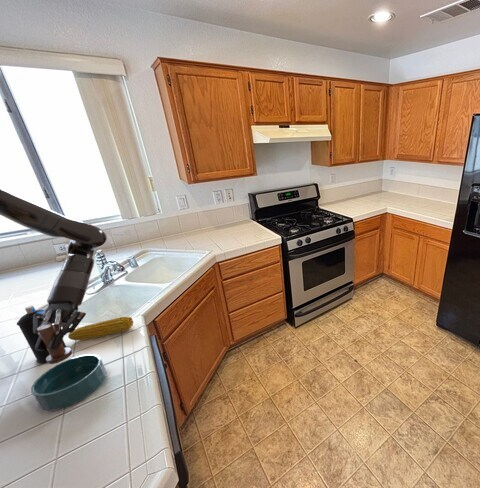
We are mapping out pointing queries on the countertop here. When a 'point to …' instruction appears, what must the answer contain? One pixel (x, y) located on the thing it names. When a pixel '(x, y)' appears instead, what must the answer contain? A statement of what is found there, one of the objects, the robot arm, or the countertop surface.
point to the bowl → (69, 382)
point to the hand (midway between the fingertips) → (46, 349)
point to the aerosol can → (27, 330)
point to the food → (102, 328)
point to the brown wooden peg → (46, 335)
